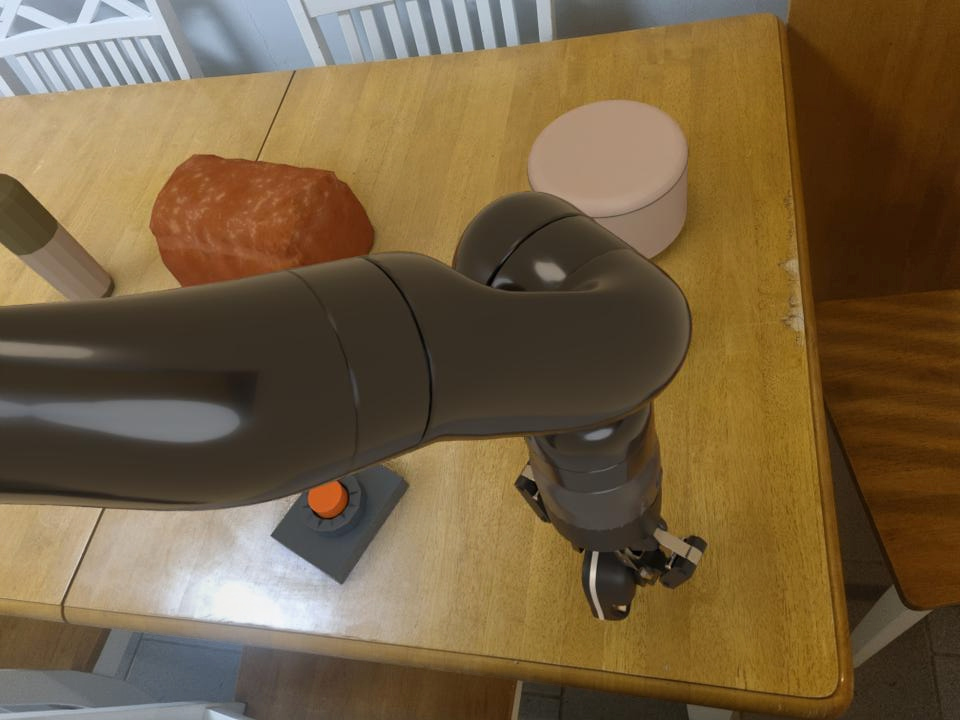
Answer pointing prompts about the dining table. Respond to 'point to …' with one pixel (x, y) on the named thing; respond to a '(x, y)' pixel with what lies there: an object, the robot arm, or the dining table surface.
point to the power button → (328, 499)
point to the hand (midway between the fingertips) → (614, 557)
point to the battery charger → (607, 585)
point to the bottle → (48, 245)
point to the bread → (254, 219)
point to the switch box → (342, 522)
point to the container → (617, 169)
